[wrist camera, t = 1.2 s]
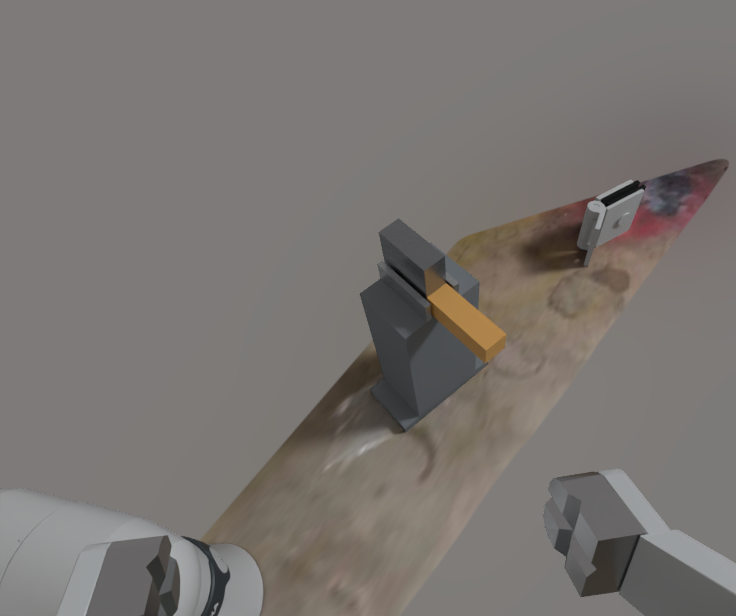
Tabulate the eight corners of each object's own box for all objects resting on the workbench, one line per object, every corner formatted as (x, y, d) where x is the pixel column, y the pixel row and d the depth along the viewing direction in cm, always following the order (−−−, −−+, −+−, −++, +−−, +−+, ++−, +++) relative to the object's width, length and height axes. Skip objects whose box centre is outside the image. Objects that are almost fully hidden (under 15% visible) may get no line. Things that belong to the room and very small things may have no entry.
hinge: (586, 268, 92) (598, 230, 84) (562, 252, 95) (571, 215, 86) (634, 226, 95) (650, 186, 87) (609, 212, 98) (622, 172, 90)
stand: (405, 432, 80) (382, 341, 56) (371, 392, 85) (336, 293, 61) (488, 364, 84) (498, 252, 60) (451, 330, 89) (447, 214, 65)
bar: (485, 363, 56) (488, 326, 49) (387, 274, 65) (378, 232, 58) (504, 347, 57) (510, 308, 50) (404, 261, 66) (398, 218, 59)
